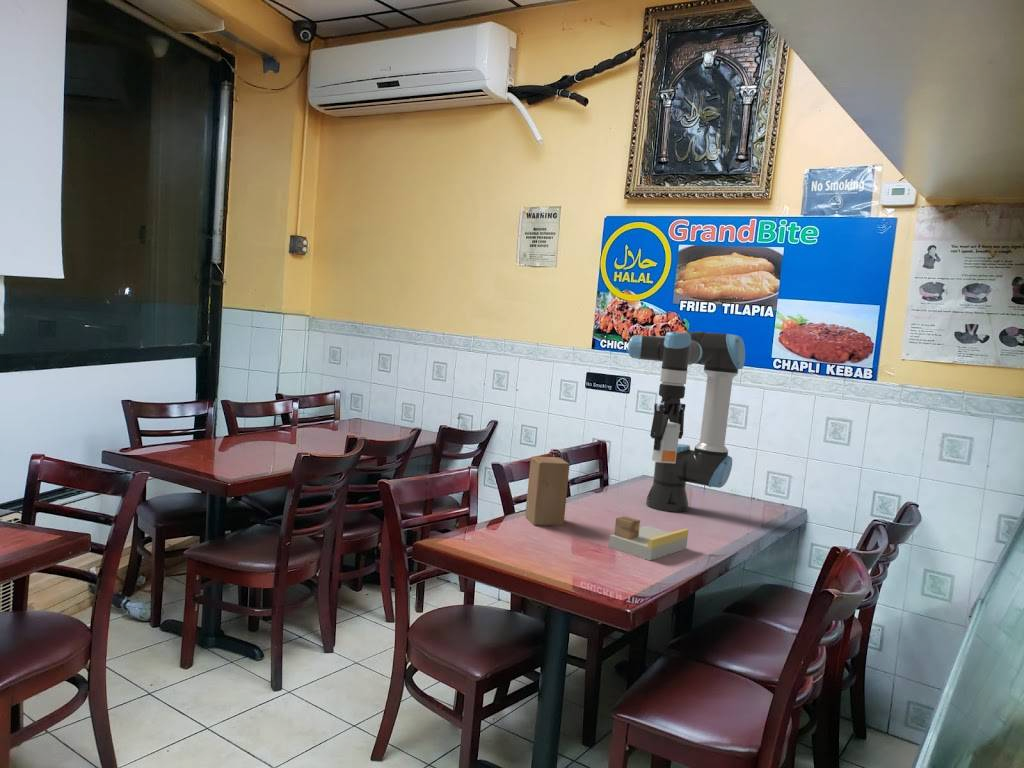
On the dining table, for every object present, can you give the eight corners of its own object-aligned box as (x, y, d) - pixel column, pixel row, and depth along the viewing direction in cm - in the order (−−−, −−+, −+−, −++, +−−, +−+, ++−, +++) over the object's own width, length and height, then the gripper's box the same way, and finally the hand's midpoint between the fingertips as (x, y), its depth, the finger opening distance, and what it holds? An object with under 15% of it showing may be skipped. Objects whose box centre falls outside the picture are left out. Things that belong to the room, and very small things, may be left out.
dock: (646, 536, 234) (648, 518, 234) (686, 549, 225) (688, 529, 224) (608, 547, 219) (610, 527, 219) (649, 560, 210) (652, 540, 210)
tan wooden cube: (624, 532, 224) (625, 515, 223) (638, 536, 220) (640, 520, 220) (614, 535, 220) (616, 518, 219) (628, 539, 217) (630, 522, 216)
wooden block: (533, 525, 235) (539, 462, 233) (524, 516, 245) (530, 455, 243) (564, 526, 238) (570, 463, 236) (553, 517, 247) (559, 457, 246)
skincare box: (657, 463, 224) (662, 423, 222) (651, 460, 228) (655, 420, 227) (676, 463, 225) (680, 424, 224) (669, 461, 229) (674, 421, 228)
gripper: (679, 382, 234) (671, 455, 236) (643, 382, 220) (634, 460, 222) (701, 385, 229) (692, 460, 231) (665, 385, 215) (656, 465, 216)
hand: (664, 460), depth 226 cm, fingers closed on skincare box, 7 cm apart
